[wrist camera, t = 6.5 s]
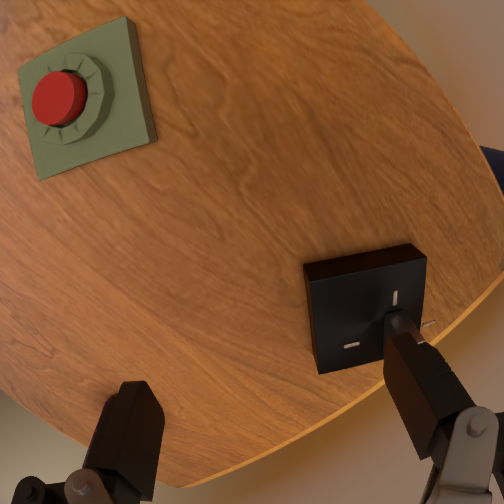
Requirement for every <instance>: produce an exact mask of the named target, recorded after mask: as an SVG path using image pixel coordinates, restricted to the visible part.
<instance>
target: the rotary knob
mask: <svg viewBox="0 0 504 504" xmlns="http://www.w3.org/2000/svg"><path fill="white" fill-rule="evenodd" d="M407 331H408V332H410V333H411V334H412V336H413V337H414V338H415V340H416V341H417V343H418V344H420V343H423V342H425V339H424V338H423V336H422V335H421V333H420V332H419V331H418V329H417V328H416V326H415V325H414V324H413V322H412V321H411V319H410V318H409V317H408V315H407V314H406V313H405V311H404V310H399V311H395V312H391V313H387V314H385V321H384V337H383V351H382V358H383V360H384V356H385V343H386V339H387V337H390V336H394V335H397V334H400V333H404V332H407Z"/></svg>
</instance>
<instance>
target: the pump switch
mask: <svg viewBox="0 0 504 504" xmlns="http://www.w3.org/2000/svg"><path fill="white" fill-rule="evenodd" d="M18 71H19V81H20V89H21V96H22V103H23V109H24V115H25V121H26V126H27V131H28V136H29V141H30V146H31V150H32V155H33V159H34V163H35V167H36V171H37V175H38V179H39V181H41V180H44V179H46V178H49V177H52V176H54V175H57V174H59V173H62V172H64V171H67V170H70V169H72V168H75V167H78V166H81V165H83V164H86V163H89V162H92V161H95V160H98V159H101V158H104V157H107V156H110V155H113V154H116V153H119V152H122V151H125V150H129V149H132V148H135V147H139V146H142V145H146V144H149V143H153V142H156V141H158V139H157V135H156V131H155V126H154V121H153V117H152V112H151V107H150V103H149V98H148V93H147V88H146V83H145V78H144V72H143V67H142V62H141V56H140V50H139V45H138V39H137V33H136V27H135V23H134V22H133V21H131V20H130V19H129V18H128V17H126V16H124V17H121V18H118V19H116V20H113V21H111V22H108V23H106V24H103V25H101V26H99V27H96V28H94V29H92V30H89V31H87V32H85V33H83V34H81V35H79V36H76V37H74V38H72V39H70V40H68V41H66V42H64V43H62V44H60V45H58V46H56V47H54V48H53V49H51V50H49V51H47V52H45V53H43V54H42V55H40V56H38V57H36V58H35V59H33V60H31V61H30V62H28V63H26V64H25V65H23V66H21V67H20V68H18ZM56 71H60V72H65V73H71V74H75V75H77V76H79V77H80V78H81V79H82V81H83V82H84V85H85V88H86V101H85V104H84V107H83V109H82V111H81V112H80V114H79V115H78V116H77V117H76V118H75V119H74V120H72V121H70V122H68V123H65V124H56V125H45V124H42V123H41V122H39V121H38V120H37V119H36V117H35V116H34V113H33V110H32V96H33V93H34V90H35V88H36V86H37V84H38V83H39V81H40V80H41V79H42V78H43V77H44V76H46V75H47V74H49V73H52V72H56Z"/></svg>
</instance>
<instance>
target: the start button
mask: <svg viewBox="0 0 504 504" xmlns="http://www.w3.org/2000/svg"><path fill="white" fill-rule="evenodd" d="M85 101H86V88H85V85H84V82H83V81H82V79H81V78H80V77H79V76H77V75H75V74H71V73H65V72H60V71H56V72H52V73H49V74H47V75H46V76H44V77H43V78H42V79H41V80H40V81H39V83H38V84H37V86H36V88H35V90H34V93H33V96H32V110H33V113H34V116H35V117H36V119H37V120H38V121H39V122H41V123H42V124H45V125H56V124H65V123H68V122H70V121H72V120H74V119H75V118H76V117H77V116H78V115H79V114H80V112H81V111H82V109H83V107H84V104H85Z"/></svg>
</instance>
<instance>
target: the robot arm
mask: <svg viewBox="0 0 504 504" xmlns="http://www.w3.org/2000/svg"><path fill="white" fill-rule="evenodd" d="M383 374H384V380H385V383H386V386H387V388H388V390H389V392H390V395H391V397H392V399H393V401H394V403H395V405H396V407H397V409H398V411H399V413H400V416H401V418H402V420H403V422H404V425H405V427H406V429H407V431H408V433H409V436H410V438H411V440H412V442H413V445H414V447H415V449H416V452H417V454H418V456H419V459H420V460H423V459H425V458H428V457H430V456H431V458H432V460H433V462H434V464H433V467H432V470H431V473H430V476H429V479H428V481H427V484H426V487H425V489H424V492H423V495H422V498H421V500H420V502H419V504H491V502H492V492H490V491H489V482H490V477H491V474H492V473H493V474H494V476H495V479H496V481H497V483H498V486H499V488H500V491H501V493H502V496H503V498H504V412H502V413H493V412H492V411H491V410H489V409H487V408H485V407H480V406H477V405H475V403H474V402H473V400H472V399H471V397H470V396H469V394H468V393H467V391H466V390H465V388H464V387H463V385H462V384H461V382H460V381H459V379H458V378H457V377H456V375H455V374H454V372H453V371H451V368H450V366H449V365H448V364H447V363H446V362H445V359H444V358H443V357H442V355H441V354H440V352H439V351H438V349H436V348H434V347H433V346H431V345H430V344H428V343H427V342H423V343H420V344H418V343H417V341H416V340H415V338H414V337H413V336H412V334H411V333H410V332H408V331H407V332H404V333H400V334H397V335H394V336H390V337H387V339H386V343H385V356H384V367H383ZM164 425H165V417H164V412H163V409H162V407H161V406H160V404H159V402H158V401H157V399H156V397H155V396H154V394H153V392H152V391H151V389H150V387H149V385H148V384H147V382H145V381H130V382H123V383H122V385H121V387H120V390H119V393H118V396H117V397H112V398H111V400H110V401H109V402H108V403H107V405H106V406H105V407H104V409H103V412H102V415H101V417H100V422H99V423H98V426H97V432H95V435H94V438H93V441H92V444H91V447H90V450H89V453H88V456H87V459H86V463H85V466H84V468H83V469H79V470H77V471H75V472H73V473H72V474H71V475H70V476H69V477H68V478H67V480H66V482H61V483H54V484H45V483H44V482H43V481H41V480H40V479H39V478H37V477H34V476H28V477H25V478H23V479H22V480H21V481H20V482H19V483H18V485H17V487H16V489H15V492H14V496H13V499H12V502H11V504H140V501H151V502H152V498H153V492H154V485H155V479H156V472H157V466H158V460H159V454H160V448H161V442H162V436H163V430H164Z"/></svg>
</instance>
